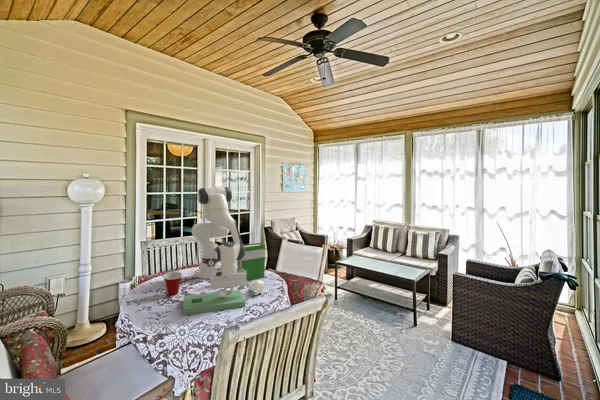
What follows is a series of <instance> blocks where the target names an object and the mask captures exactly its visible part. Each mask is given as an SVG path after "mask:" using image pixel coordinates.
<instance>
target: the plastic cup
mask: <svg viewBox="0 0 600 400" xmlns="http://www.w3.org/2000/svg"><path fill="white" fill-rule="evenodd" d="M182 276H183V272H181V271H170V272H166V273H164V275H162V277H163V279H164V282H165V288H166V290H167V291H166V292H167V295H168V296H176V295H178V294H179V291H180V285H181V280H182Z"/></svg>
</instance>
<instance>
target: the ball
mask: <svg viewBox="0 0 600 400" xmlns="http://www.w3.org/2000/svg"><path fill="white" fill-rule="evenodd" d="M218 292H219V297H220V298H224V297H225V296H226V292H225V290H220V291H218Z"/></svg>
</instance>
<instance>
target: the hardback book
mask: <svg viewBox="0 0 600 400" xmlns="http://www.w3.org/2000/svg"><path fill="white" fill-rule="evenodd" d="M243 245H244V248H245V256H244V257H243V258H242V259H241V260H237V270H242V269H244V271H245V270H246V271H247V275H246V281H247V282H249V281H253V280H254V281H255V280H260V279H262V278H265V267H266V266H265V261H266V256H265V255H266V244H264V243H262V242H257V243H255V242H254V243H248V244H243Z"/></svg>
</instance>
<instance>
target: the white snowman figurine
mask: <svg viewBox="0 0 600 400" xmlns="http://www.w3.org/2000/svg"><path fill="white" fill-rule="evenodd" d="M248 287H249V291H250V292H251V291H252V292H253V293H254V294H253V295H254V296H257V295H258V294H263V291H264V289H265V284H264V281H262V280H260V279H256V280H254V281H253V282H251V283H250V284H249V286H248Z"/></svg>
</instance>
